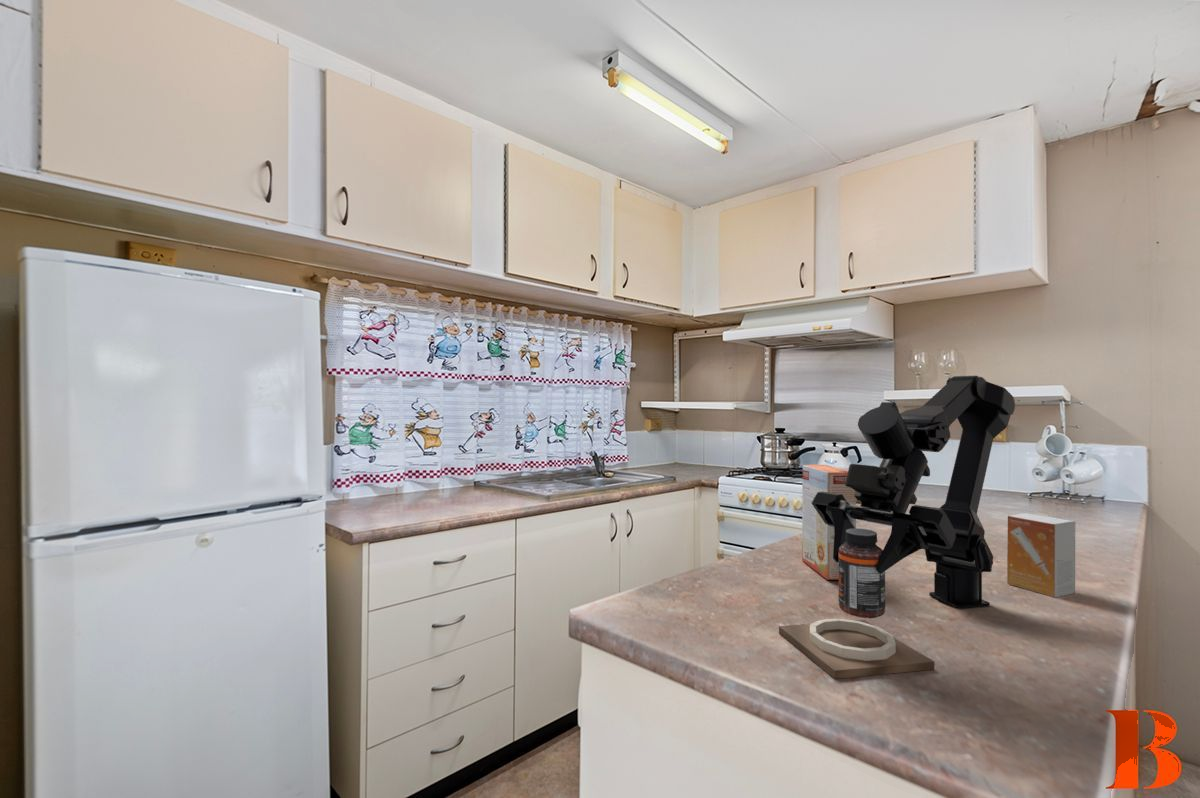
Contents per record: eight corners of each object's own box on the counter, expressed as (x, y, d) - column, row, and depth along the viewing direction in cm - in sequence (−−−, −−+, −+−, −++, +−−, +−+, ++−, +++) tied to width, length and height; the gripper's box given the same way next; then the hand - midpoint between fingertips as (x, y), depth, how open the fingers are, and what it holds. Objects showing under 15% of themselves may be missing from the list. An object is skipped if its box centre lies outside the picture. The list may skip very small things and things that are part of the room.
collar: (861, 624, 84) (861, 616, 84) (912, 656, 73) (912, 647, 73) (795, 629, 82) (795, 621, 82) (839, 663, 71) (838, 653, 71)
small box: (1006, 584, 106) (1006, 515, 106) (1027, 580, 108) (1027, 512, 108) (1055, 598, 98) (1055, 523, 98) (1076, 593, 101) (1076, 520, 101)
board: (864, 626, 86) (864, 619, 86) (934, 669, 72) (934, 661, 72) (778, 632, 83) (778, 626, 83) (834, 678, 69) (834, 670, 69)
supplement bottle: (836, 601, 83) (836, 525, 83) (881, 606, 81) (881, 528, 81) (840, 616, 77) (839, 534, 77) (888, 622, 75) (888, 537, 75)
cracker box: (858, 581, 107) (858, 471, 107) (826, 581, 107) (826, 471, 107) (829, 560, 121) (829, 463, 121) (801, 560, 121) (800, 463, 121)
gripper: (818, 440, 89) (774, 518, 83) (945, 448, 74) (903, 545, 67) (846, 485, 94) (806, 563, 87) (971, 501, 78) (934, 597, 72)
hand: (856, 565), depth 78 cm, fingers closed on supplement bottle, 6 cm apart
